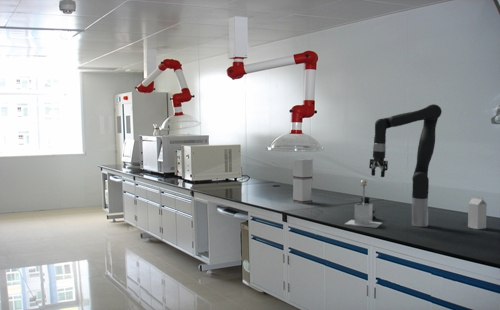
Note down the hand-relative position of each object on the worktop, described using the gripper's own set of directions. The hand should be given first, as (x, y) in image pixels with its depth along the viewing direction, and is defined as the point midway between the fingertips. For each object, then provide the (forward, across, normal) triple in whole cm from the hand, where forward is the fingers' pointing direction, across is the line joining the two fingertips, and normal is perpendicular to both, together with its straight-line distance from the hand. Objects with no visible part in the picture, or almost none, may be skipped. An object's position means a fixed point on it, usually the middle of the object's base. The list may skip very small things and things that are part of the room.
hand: (377, 176), depth 304 cm
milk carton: (+28, -38, -46) cm, 66 cm away
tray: (+30, +2, +7) cm, 31 cm away
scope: (+30, +16, -7) cm, 35 cm away
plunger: (+20, +3, +8) cm, 21 cm away
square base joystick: (+30, +2, +7) cm, 31 cm away
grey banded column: (+32, +93, -5) cm, 98 cm away
